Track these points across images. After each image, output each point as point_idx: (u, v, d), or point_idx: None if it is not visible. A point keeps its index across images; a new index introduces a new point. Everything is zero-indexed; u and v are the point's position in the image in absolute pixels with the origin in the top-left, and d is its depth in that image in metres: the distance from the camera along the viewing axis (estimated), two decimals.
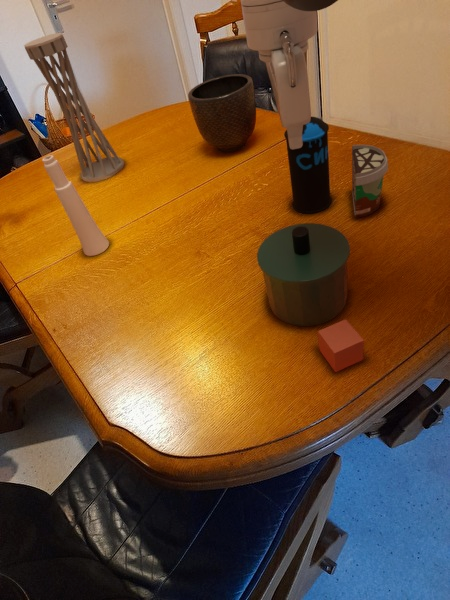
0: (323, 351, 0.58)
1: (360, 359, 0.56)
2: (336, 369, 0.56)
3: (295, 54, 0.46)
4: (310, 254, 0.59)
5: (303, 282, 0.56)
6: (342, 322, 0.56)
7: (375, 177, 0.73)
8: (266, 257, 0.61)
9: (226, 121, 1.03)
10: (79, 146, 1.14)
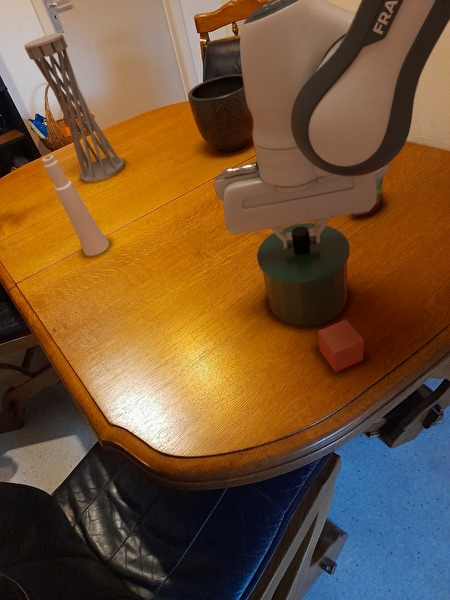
0: (323, 351, 0.58)
1: (360, 359, 0.56)
2: (336, 369, 0.56)
3: (234, 183, 0.52)
4: (309, 254, 0.59)
5: (303, 282, 0.56)
6: (342, 322, 0.56)
7: (375, 177, 0.73)
8: (266, 257, 0.61)
9: (226, 121, 1.03)
10: (79, 146, 1.14)
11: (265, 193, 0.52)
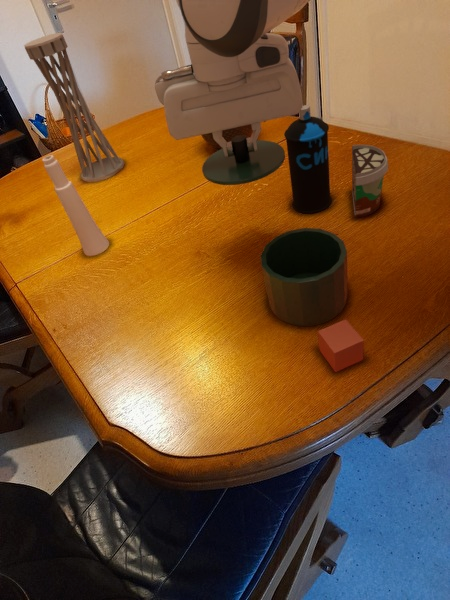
0: (323, 351, 0.58)
1: (360, 359, 0.56)
2: (336, 369, 0.56)
3: (173, 85, 0.57)
4: (248, 162, 0.64)
5: (239, 182, 0.61)
6: (342, 322, 0.56)
7: (375, 177, 0.73)
8: (210, 167, 0.66)
9: None
10: (79, 146, 1.14)
11: (200, 94, 0.57)
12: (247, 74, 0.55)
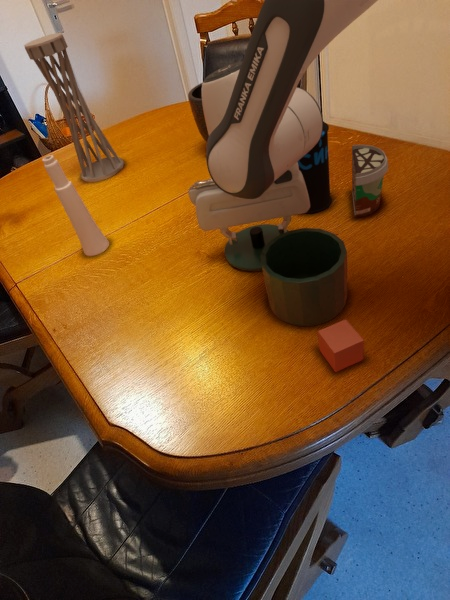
0: (323, 351, 0.58)
1: (360, 359, 0.56)
2: (336, 369, 0.56)
3: (203, 192, 0.70)
4: None
5: (257, 269, 0.74)
6: (342, 322, 0.56)
7: (375, 177, 0.73)
8: (231, 250, 0.79)
9: None
10: (79, 146, 1.14)
11: (226, 200, 0.69)
12: None
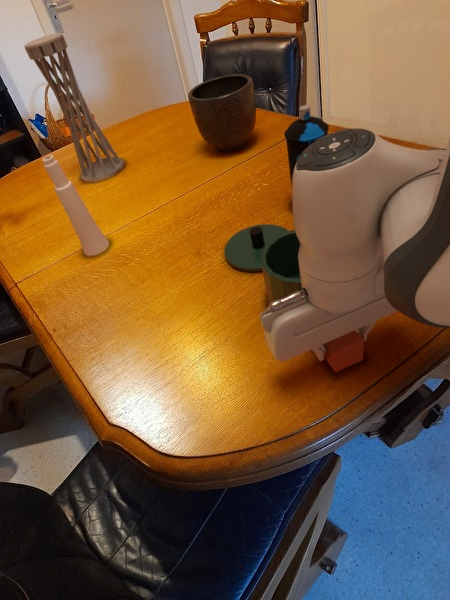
0: None
1: (360, 359, 0.56)
2: (336, 369, 0.56)
3: (284, 314, 0.47)
4: None
5: (257, 269, 0.74)
6: None
7: None
8: (231, 250, 0.79)
9: (226, 121, 1.03)
10: (79, 146, 1.14)
11: (317, 317, 0.48)
12: None
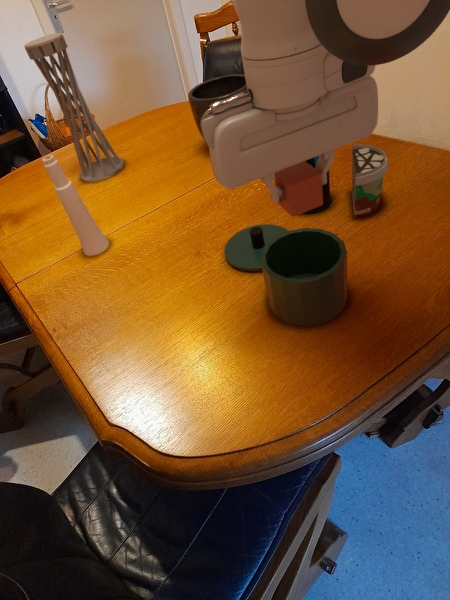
0: None
1: (319, 203, 0.51)
2: (293, 212, 0.51)
3: (227, 119, 0.42)
4: None
5: (257, 269, 0.74)
6: (300, 163, 0.52)
7: (375, 177, 0.73)
8: (231, 250, 0.79)
9: None
10: (79, 146, 1.14)
11: (265, 126, 0.43)
12: None
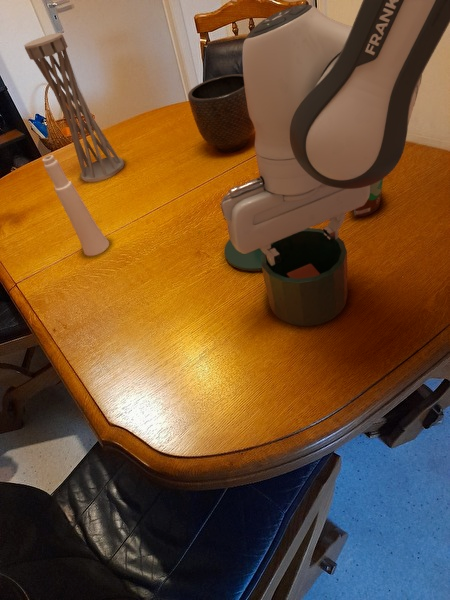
0: None
1: None
2: None
3: (243, 201, 0.51)
4: None
5: (257, 269, 0.74)
6: (307, 266, 0.65)
7: None
8: (231, 250, 0.79)
9: (226, 121, 1.03)
10: (79, 146, 1.14)
11: (274, 205, 0.52)
12: None
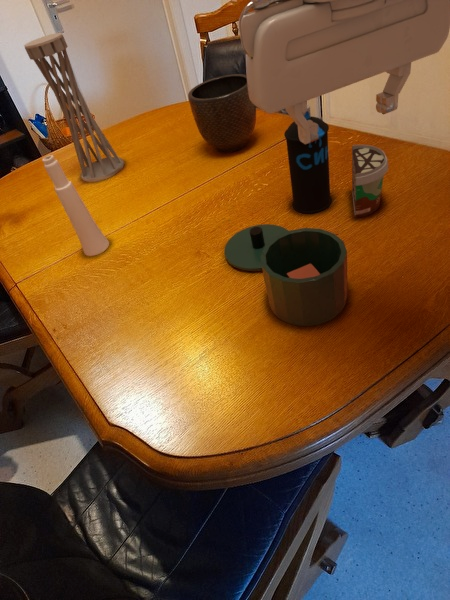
0: None
1: None
2: None
3: (272, 16, 0.34)
4: None
5: (257, 269, 0.74)
6: (307, 266, 0.65)
7: (375, 177, 0.73)
8: (231, 250, 0.79)
9: (226, 121, 1.03)
10: (79, 146, 1.14)
11: (318, 28, 0.35)
12: None
